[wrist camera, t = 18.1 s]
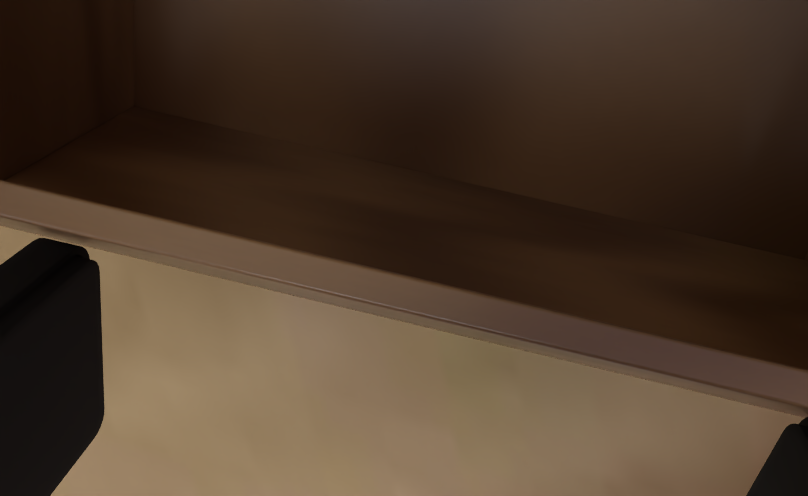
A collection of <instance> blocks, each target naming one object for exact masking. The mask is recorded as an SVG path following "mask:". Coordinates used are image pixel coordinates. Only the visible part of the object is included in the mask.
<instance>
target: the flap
mask: <svg viewBox="0 0 808 496" xmlns="http://www.w3.org/2000/svg"><path fill="white" fill-rule="evenodd" d="M0 226H4V227H8V228H12V229H16V230H21V231H25V232H29V233H33V234H37V235H42V236H46V237H50V238H54V239H58V240H62V241H67V242H71V243H75V244H79V245H83V246H88V247H92V248H96V249H100V250H104V251H109V252H113V253H117V254H121V255H125V256H130V257H134V258H138V259H142V260H146V261H151V262H155V263H159V264H163V265H167V266H172V267H176V268H180V269H184V270H188V271H192V272H197V273H201V274H205V275H209V276H213V277H218V278H222V279H226V280H230V281H234V282H239V283H243V284H247V285H251V286H255V287H260V288H264V289H268V290H272V291H276V292H281V293H285V294H289V295H293V296H297V297H302V298H306V299H310V300H314V301H318V302H322V303H327V304H331V305H335V306H339V307H343V308H348V309H352V310H356V311H360V312H364V313H369V314H373V315H377V316H381V317H385V318H390V319H394V320H398V321H402V322H406V323H411V324H415V325H419V326H423V327H427V328H432V329H436V330H440V331H444V332H448V333H452V334H457V335H461V336H465V337H469V338H473V339H478V340H482V341H486V342H490V343H494V344H499V345H503V346H507V347H511V348H515V349H520V350H524V351H528V352H532V353H536V354H541V355H545V356H549V357H553V358H557V359H562V360H566V361H570V362H574V363H578V364H582V365H587V366H591V367H595V368H599V369H603V370H608V371H612V372H616V373H620V374H624V375H629V376H633V377H637V378H641V379H645V380H650V381H654V382H658V383H662V384H666V385H671V386H675V387H679V388H683V389H687V390H692V391H696V392H700V393H704V394H708V395H712V396H717V397H721V398H725V399H729V400H733V401H738V402H742V403H746V404H750V405H754V406H759V407H763V408H767V409H771V410H775V411H780V412H784V413H788V414H792V415H796V416H801V417H805V418H806V417H808V370H806V369H802V368H798V367H794V366H789V365H785V364H781V363H777V362H772V361H768V360H764V359H760V358H755V357H751V356H747V355H743V354H738V353H734V352H730V351H726V350H721V349H717V348H713V347H709V346H704V345H700V344H696V343H692V342H687V341H683V340H679V339H675V338H670V337H666V336H662V335H658V334H653V333H649V332H645V331H641V330H636V329H632V328H628V327H624V326H619V325H615V324H611V323H607V322H602V321H598V320H594V319H590V318H586V317H581V316H577V315H573V314H569V313H564V312H560V311H556V310H552V309H547V308H543V307H539V306H535V305H530V304H526V303H522V302H518V301H513V300H509V299H505V298H501V297H496V296H492V295H488V294H484V293H479V292H475V291H471V290H467V289H462V288H458V287H454V286H450V285H445V284H441V283H437V282H433V281H428V280H424V279H420V278H416V277H411V276H407V275H403V274H399V273H395V272H390V271H386V270H382V269H378V268H373V267H369V266H365V265H361V264H356V263H352V262H348V261H344V260H339V259H335V258H331V257H327V256H322V255H318V254H314V253H310V252H305V251H301V250H297V249H293V248H288V247H284V246H280V245H276V244H271V243H267V242H263V241H259V240H254V239H250V238H246V237H242V236H237V235H233V234H229V233H225V232H220V231H216V230H212V229H208V228H204V227H199V226H195V225H191V224H187V223H182V222H178V221H174V220H170V219H165V218H161V217H157V216H153V215H148V214H144V213H140V212H136V211H131V210H127V209H123V208H119V207H114V206H110V205H106V204H102V203H97V202H93V201H89V200H85V199H80V198H76V197H72V196H68V195H63V194H59V193H55V192H51V191H46V190H42V189H38V188H34V187H29V186H25V185H21V184H17V183H13V182H8V181H4V180H0Z"/></svg>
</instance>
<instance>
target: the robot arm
mask: <svg viewBox="0 0 808 496" xmlns="http://www.w3.org/2000/svg"><path fill="white" fill-rule="evenodd" d="M103 417H104V386H103V356H102V327H101V298H100V271H99V266H98V264H97V262H95V261H94V260H90V259H89V254H88V252H87V250H86V249H85V248H83V247H81V246H76V245H72V244H68V243H64V242H59V241H55V240H51V239H46V238H38V239H36V240H34V241H33V242H31V243H30V244H29V245H27V246H26V247H24V248H23V249H22V250H20V251H19V252H18V253H16V254H15V255H14V256H12V257H11V258H9V259H8V260H7V261H5V262H4V263H3V264H1V265H0V496H50V495H51V494H52V492H53V491H54V490H55V489H56V487H57V486H58V485H59V483H60V482H61V481H62V479H63V478H64V477H65V476H66V474H67V473H68V472H69V470H70V469H71V468H72V466H73V465H74V464H75V463H76V461H77V460H78V459H79V457H80V456H81V455H82V453H83V452H84V451H85V450H86V448H87V447H88V446H89V444H90V443H91V442H92V440H93V439H94V438H95V436H96V435H97V433H98V431H99V429H100V427H101V424H102V421H103ZM746 496H808V417H806V418H805V419H803V420H802V421H801V422H800V423H799V424H790V425H789V426H787V427H786V428H785V430H784V431H783V433H782V434H781V436H780V438H779V440H778V441H777V443H776V445H775V447H774V448H773V450H772V452H771V454H770V455H769V457H768V459H767V461H766V462H765V464H764V466H763V467H762V469H761V471H760V473H759V474H758V476H757V478H756V480H755V481H754V483H753V485H752V487H751V488H750V490H749V492H748V494H747V495H746Z"/></svg>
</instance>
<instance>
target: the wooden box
mask: <svg viewBox="0 0 808 496" xmlns="http://www.w3.org/2000/svg"><path fill="white" fill-rule="evenodd" d="M0 180H4V181H8V182H13V183H17V184H21V185H25V186H29V187H34V188H38V189H42V190H46V191H51V192H55V193H59V194H63V195H68V196H72V197H76V198H80V199H85V200H89V201H93V202H97V203H102V204H106V205H110V206H114V207H119V208H123V209H127V210H131V211H136V212H140V213H144V214H148V215H153V216H157V217H161V218H165V219H170V220H174V221H178V222H182V223H187V224H191V225H195V226H199V227H204V228H208V229H212V230H216V231H220V232H225V233H229V234H233V235H237V236H242V237H246V238H250V239H254V240H259V241H263V242H267V243H271V244H276V245H280V246H284V247H288V248H293V249H297V250H301V251H305V252H310V253H314V254H318V255H322V256H327V257H331V258H335V259H339V260H344V261H348V262H352V263H356V264H361V265H365V266H369V267H373V268H378V269H382V270H386V271H390V272H395V273H399V274H403V275H407V276H411V277H416V278H420V279H424V280H428V281H433V282H437V283H441V284H445V285H450V286H454V287H458V288H462V289H467V290H471V291H475V292H479V293H484V294H488V295H492V296H496V297H501V298H505V299H509V300H513V301H518V302H522V303H526V304H530V305H535V306H539V307H543V308H547V309H552V310H556V311H560V312H564V313H569V314H573V315H577V316H581V317H586V318H590V319H594V320H598V321H602V322H607V323H611V324H615V325H619V326H624V327H628V328H632V329H636V330H641V331H645V332H649V333H653V334H658V335H662V336H666V337H670V338H675V339H679V340H683V341H687V342H692V343H696V344H700V345H704V346H709V347H713V348H717V349H721V350H726V351H730V352H734V353H738V354H743V355H747V356H751V357H755V358H760V359H764V360H768V361H772V362H777V363H781V364H785V365H789V366H794V367H798V368H802V369H806V370H808V0H0Z"/></svg>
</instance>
